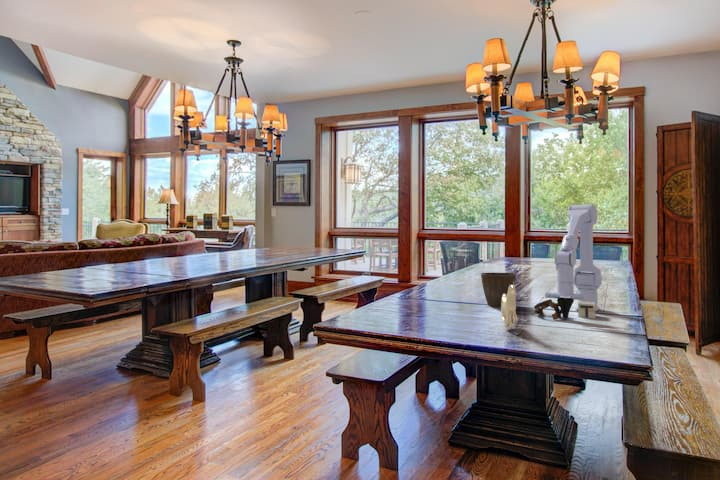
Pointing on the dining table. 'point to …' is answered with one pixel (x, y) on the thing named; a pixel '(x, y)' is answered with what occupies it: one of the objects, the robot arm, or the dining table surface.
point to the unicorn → (509, 307)
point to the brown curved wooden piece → (547, 304)
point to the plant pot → (496, 286)
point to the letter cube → (586, 309)
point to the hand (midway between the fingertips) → (565, 317)
